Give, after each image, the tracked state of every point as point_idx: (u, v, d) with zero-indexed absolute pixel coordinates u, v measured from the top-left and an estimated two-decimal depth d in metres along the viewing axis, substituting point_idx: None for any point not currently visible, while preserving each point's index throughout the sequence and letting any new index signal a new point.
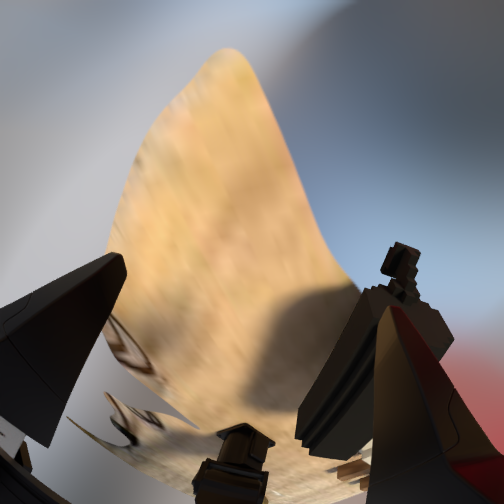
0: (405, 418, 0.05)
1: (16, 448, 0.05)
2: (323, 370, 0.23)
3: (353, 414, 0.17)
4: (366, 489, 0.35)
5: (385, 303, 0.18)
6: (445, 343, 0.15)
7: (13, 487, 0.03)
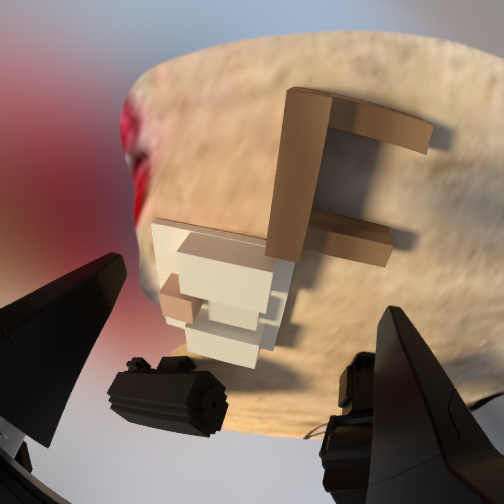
0: (405, 418, 0.05)
1: (16, 448, 0.05)
2: None
3: (160, 427, 0.29)
4: (417, 134, 0.13)
5: None
6: None
7: (13, 487, 0.03)
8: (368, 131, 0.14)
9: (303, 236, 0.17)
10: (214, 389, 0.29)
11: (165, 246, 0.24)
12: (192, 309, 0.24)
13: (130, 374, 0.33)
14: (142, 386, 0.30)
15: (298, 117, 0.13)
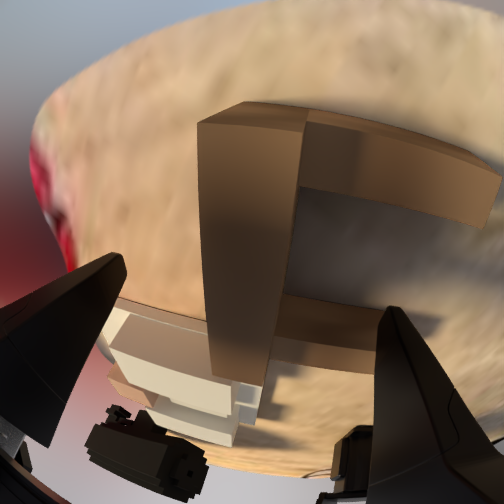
0: (405, 418, 0.05)
1: (16, 448, 0.05)
2: None
3: None
4: (474, 193, 0.06)
5: None
6: (89, 454, 0.25)
7: (13, 487, 0.03)
8: (384, 191, 0.07)
9: (264, 363, 0.10)
10: (190, 457, 0.23)
11: (108, 323, 0.17)
12: (148, 396, 0.18)
13: (105, 429, 0.27)
14: (115, 446, 0.24)
15: (229, 181, 0.06)
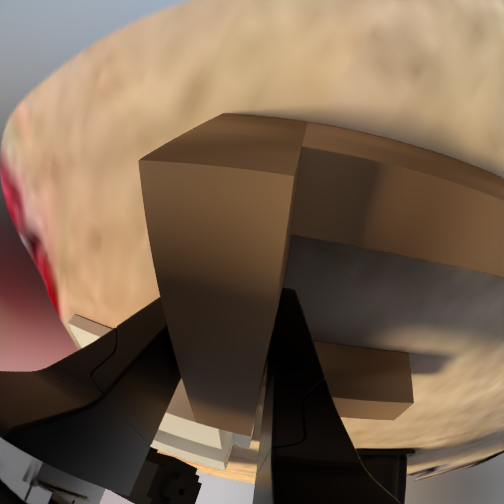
0: (268, 404, 0.06)
1: None
2: None
3: None
4: None
5: None
6: None
7: None
8: (404, 241, 0.05)
9: (251, 420, 0.08)
10: (181, 476, 0.21)
11: None
12: None
13: None
14: None
15: (189, 242, 0.04)
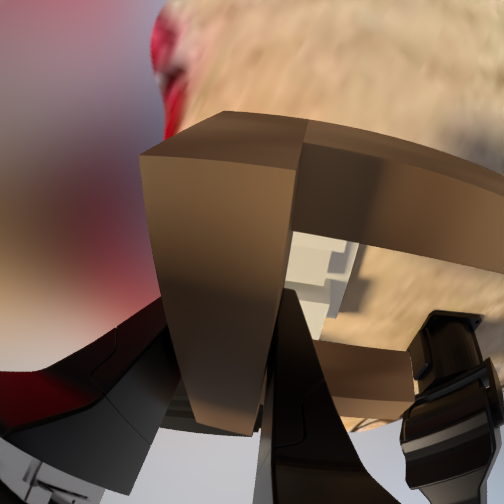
0: (268, 404, 0.06)
1: None
2: None
3: (188, 429, 0.25)
4: None
5: None
6: None
7: None
8: (405, 238, 0.05)
9: (252, 419, 0.08)
10: None
11: None
12: None
13: None
14: None
15: (190, 238, 0.04)
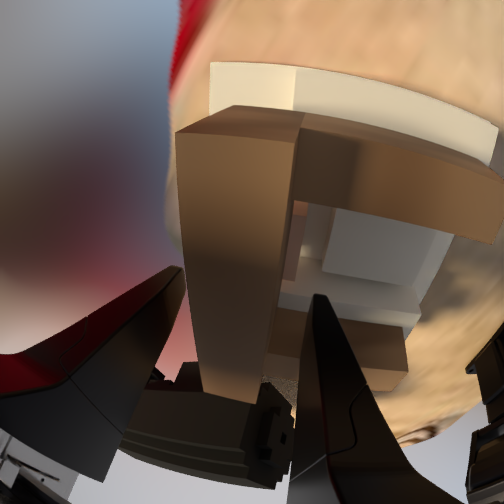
0: (310, 411, 0.06)
1: (70, 488, 0.04)
2: None
3: (186, 473, 0.17)
4: (484, 207, 0.06)
5: None
6: None
7: None
8: (386, 205, 0.06)
9: (256, 382, 0.09)
10: (283, 412, 0.16)
11: None
12: (301, 243, 0.11)
13: None
14: (154, 412, 0.18)
15: (212, 198, 0.06)
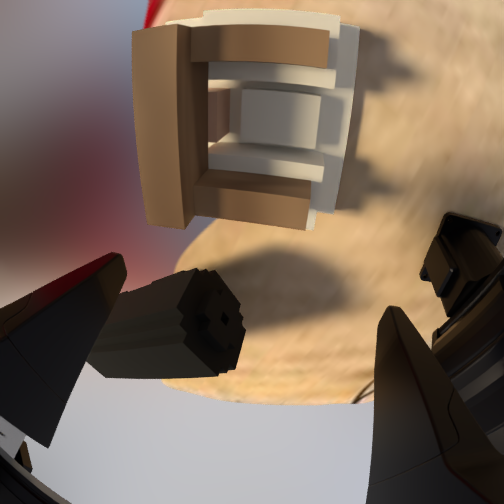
0: (405, 418, 0.05)
1: (16, 448, 0.05)
2: None
3: (144, 374, 0.21)
4: (308, 44, 0.09)
5: None
6: None
7: (13, 487, 0.03)
8: (240, 54, 0.10)
9: (179, 194, 0.13)
10: (225, 294, 0.21)
11: None
12: (218, 113, 0.15)
13: None
14: (118, 308, 0.22)
15: (146, 55, 0.09)
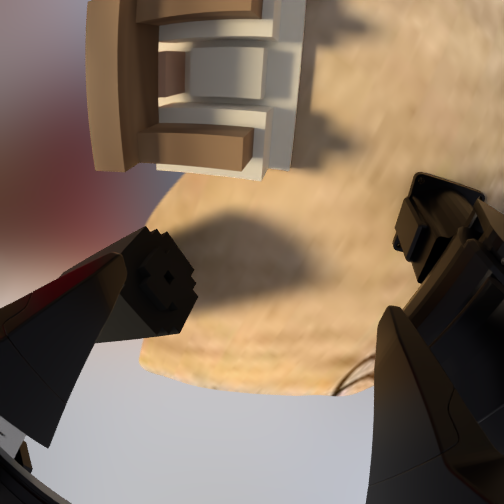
0: (405, 418, 0.05)
1: (16, 448, 0.05)
2: None
3: None
4: None
5: None
6: None
7: (13, 487, 0.03)
8: (175, 10, 0.10)
9: (119, 136, 0.13)
10: (172, 254, 0.20)
11: None
12: (167, 70, 0.14)
13: (73, 267, 0.24)
14: None
15: (96, 18, 0.09)
